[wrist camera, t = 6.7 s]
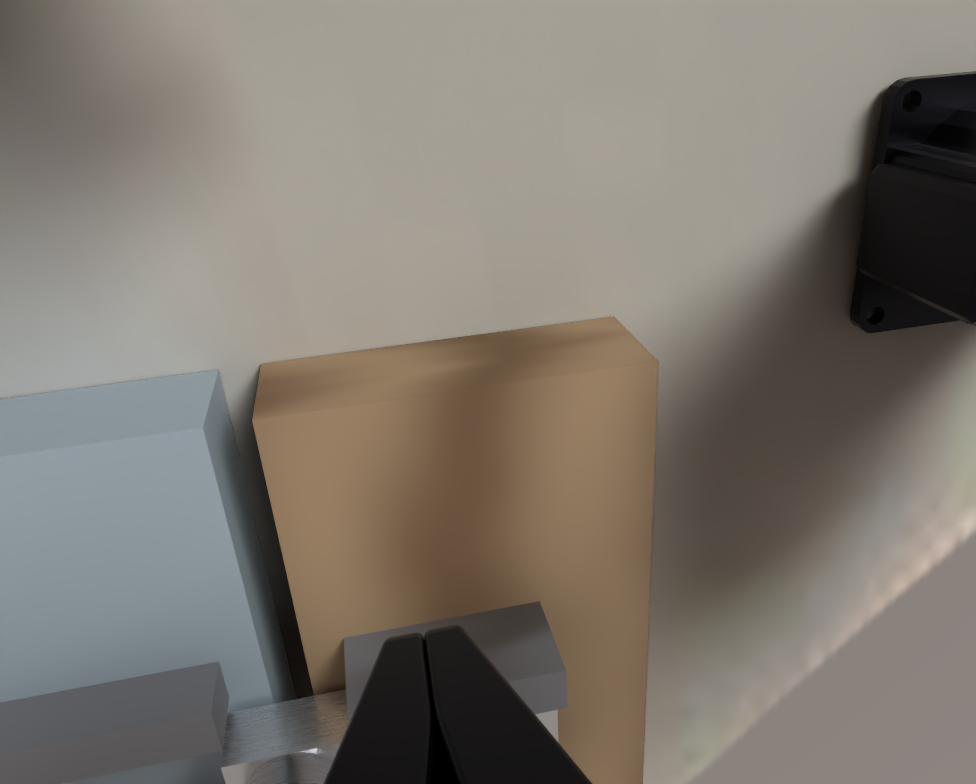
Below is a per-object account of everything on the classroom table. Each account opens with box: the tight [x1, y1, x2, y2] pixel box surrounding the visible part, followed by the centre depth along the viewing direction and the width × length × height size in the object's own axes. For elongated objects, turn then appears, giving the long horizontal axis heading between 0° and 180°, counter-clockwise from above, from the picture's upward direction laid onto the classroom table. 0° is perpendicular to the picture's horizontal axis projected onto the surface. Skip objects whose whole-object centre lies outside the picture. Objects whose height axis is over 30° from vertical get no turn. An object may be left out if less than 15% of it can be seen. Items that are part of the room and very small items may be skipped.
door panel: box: [0, 370, 297, 784], centre depth 20 cm, size 10×18×5 cm, turn 4°
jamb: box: [252, 317, 659, 784], centre depth 21 cm, size 9×18×5 cm, turn 4°
